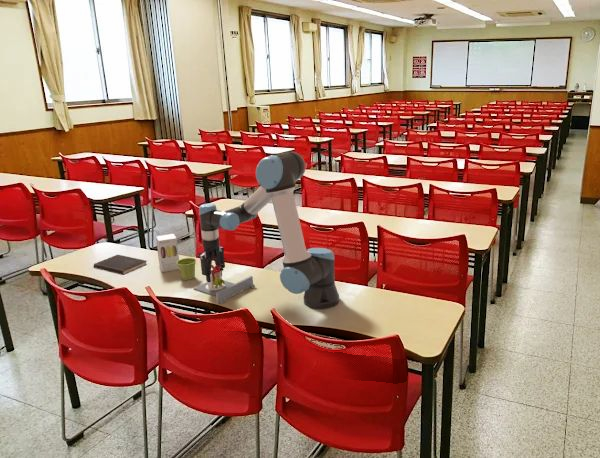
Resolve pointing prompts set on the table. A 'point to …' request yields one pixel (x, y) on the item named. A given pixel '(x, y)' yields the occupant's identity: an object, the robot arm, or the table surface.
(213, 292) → the mat
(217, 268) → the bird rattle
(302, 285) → the robot arm
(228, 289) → the long grey bar
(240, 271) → the table surface
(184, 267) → the plant pot
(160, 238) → the supplement box
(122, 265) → the hardcover book
